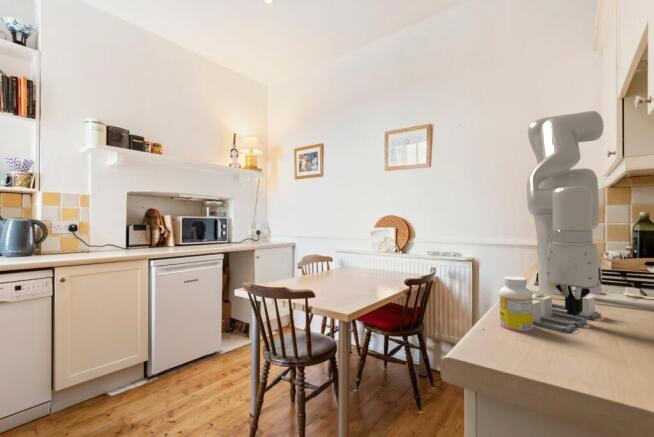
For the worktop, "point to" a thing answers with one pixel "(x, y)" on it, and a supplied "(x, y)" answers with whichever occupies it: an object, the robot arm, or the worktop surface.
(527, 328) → the supplement bottle
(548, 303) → the white block with ridge
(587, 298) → the white switch slider block
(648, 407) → the worktop surface
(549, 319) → the switch board
